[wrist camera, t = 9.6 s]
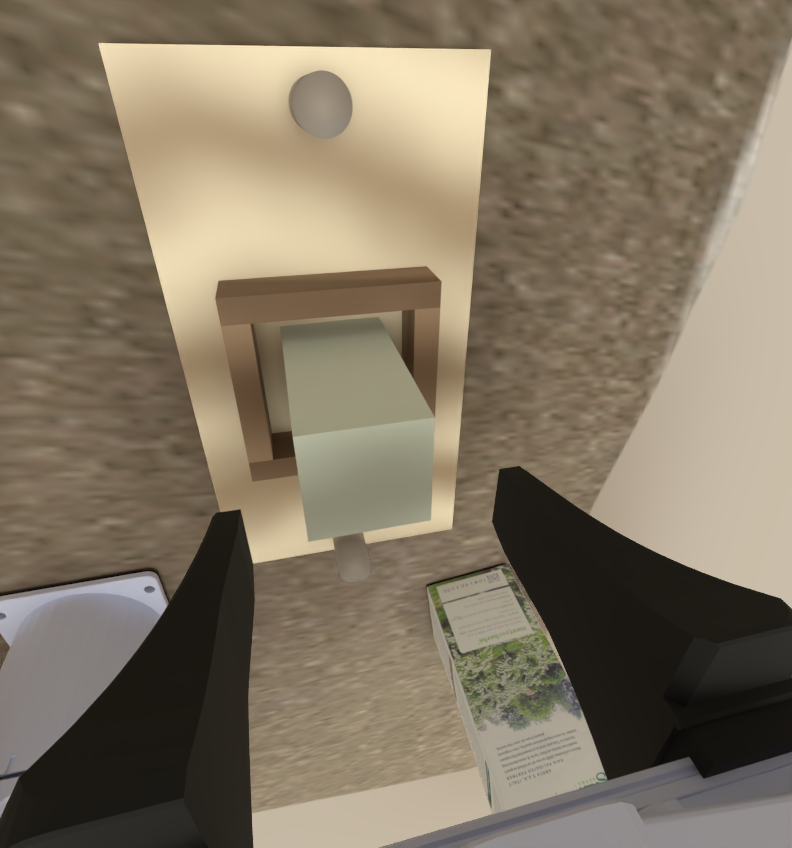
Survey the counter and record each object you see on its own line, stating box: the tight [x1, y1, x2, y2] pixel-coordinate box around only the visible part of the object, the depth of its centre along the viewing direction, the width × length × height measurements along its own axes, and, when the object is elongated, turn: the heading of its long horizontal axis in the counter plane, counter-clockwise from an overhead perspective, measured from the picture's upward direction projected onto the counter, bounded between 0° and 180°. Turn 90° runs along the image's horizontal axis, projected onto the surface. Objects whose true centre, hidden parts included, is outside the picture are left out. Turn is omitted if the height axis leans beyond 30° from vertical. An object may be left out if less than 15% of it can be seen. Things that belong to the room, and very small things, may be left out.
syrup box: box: [427, 564, 607, 814], centre depth 28 cm, size 6×6×14 cm
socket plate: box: [99, 43, 491, 582], centre depth 21 cm, size 22×12×4 cm, turn 0°
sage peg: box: [280, 317, 435, 542], centre depth 18 cm, size 4×4×8 cm
